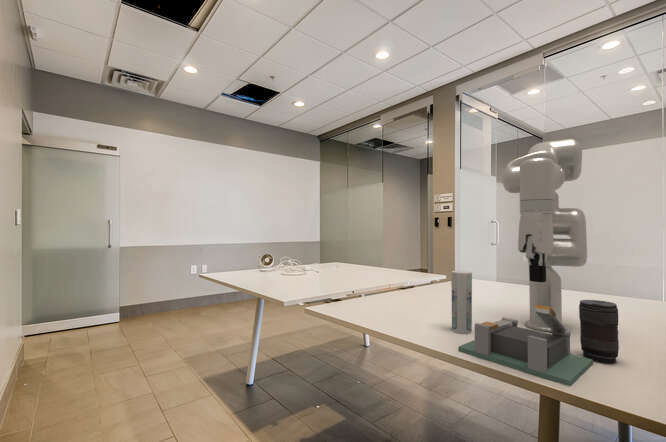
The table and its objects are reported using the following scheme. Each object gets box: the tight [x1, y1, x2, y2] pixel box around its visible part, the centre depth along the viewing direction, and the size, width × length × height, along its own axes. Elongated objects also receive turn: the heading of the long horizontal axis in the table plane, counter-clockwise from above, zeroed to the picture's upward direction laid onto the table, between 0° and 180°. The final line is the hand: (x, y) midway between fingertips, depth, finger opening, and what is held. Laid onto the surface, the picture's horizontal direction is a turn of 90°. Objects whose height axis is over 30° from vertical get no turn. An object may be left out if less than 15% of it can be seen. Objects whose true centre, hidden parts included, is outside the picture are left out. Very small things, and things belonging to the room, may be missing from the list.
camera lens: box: [578, 299, 620, 365], centre depth 86 cm, size 8×8×15 cm
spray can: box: [450, 270, 473, 335], centre depth 109 cm, size 6×6×20 cm
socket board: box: [457, 317, 594, 387], centre depth 86 cm, size 19×26×9 cm
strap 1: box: [479, 318, 513, 333], centre depth 91 cm, size 14×3×2 cm, turn 129°
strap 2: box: [535, 305, 566, 334], centre depth 82 cm, size 14×3×2 cm
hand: (537, 281), depth 80 cm, fingers closed
